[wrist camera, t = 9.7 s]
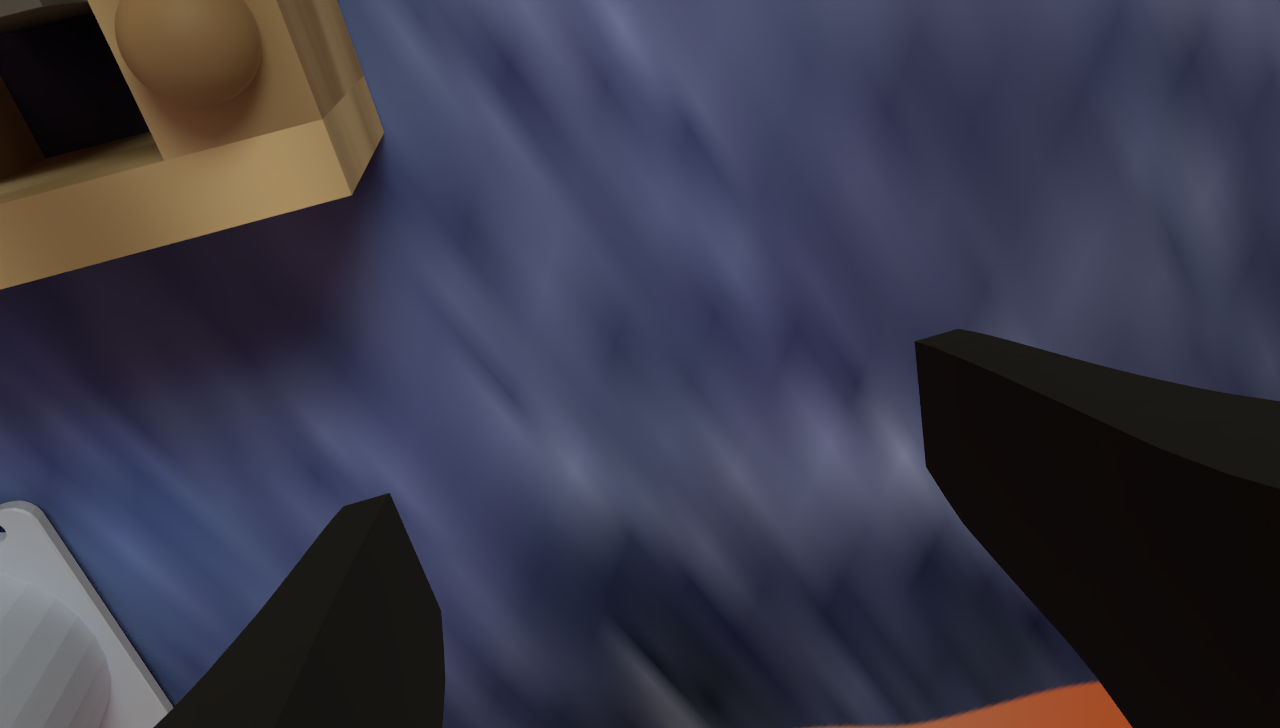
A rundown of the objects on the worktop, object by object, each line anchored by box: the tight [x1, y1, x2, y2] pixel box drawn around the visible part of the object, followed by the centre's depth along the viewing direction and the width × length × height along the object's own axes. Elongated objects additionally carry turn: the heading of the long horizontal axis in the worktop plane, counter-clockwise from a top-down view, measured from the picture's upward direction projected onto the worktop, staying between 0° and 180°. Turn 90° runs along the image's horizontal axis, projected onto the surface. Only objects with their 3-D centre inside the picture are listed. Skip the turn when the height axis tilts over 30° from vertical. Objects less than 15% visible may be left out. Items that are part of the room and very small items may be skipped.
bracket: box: [0, 0, 384, 290], centre depth 14 cm, size 9×4×7 cm, turn 103°
